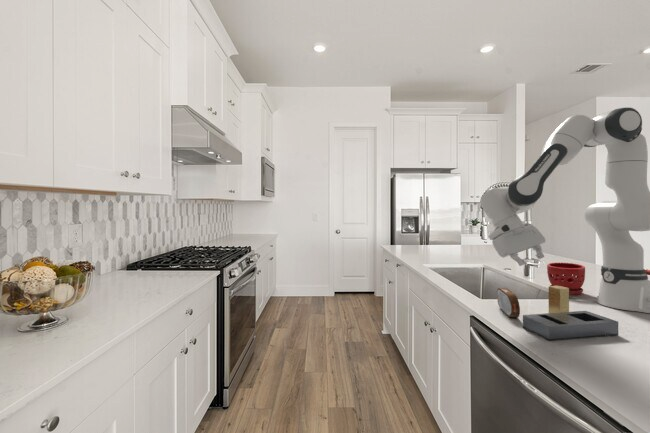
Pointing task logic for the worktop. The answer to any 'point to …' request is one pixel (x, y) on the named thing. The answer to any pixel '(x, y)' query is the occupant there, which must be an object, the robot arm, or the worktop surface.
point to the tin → (508, 302)
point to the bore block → (570, 325)
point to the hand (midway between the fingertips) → (532, 261)
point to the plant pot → (567, 276)
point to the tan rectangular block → (558, 299)
